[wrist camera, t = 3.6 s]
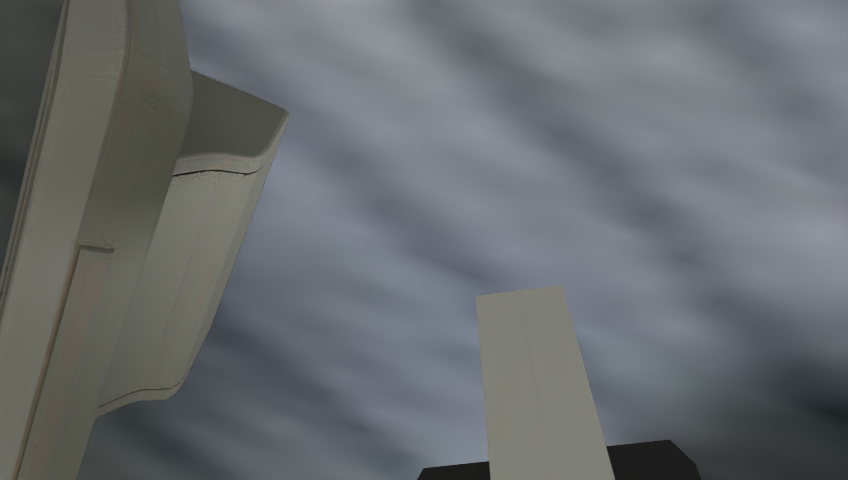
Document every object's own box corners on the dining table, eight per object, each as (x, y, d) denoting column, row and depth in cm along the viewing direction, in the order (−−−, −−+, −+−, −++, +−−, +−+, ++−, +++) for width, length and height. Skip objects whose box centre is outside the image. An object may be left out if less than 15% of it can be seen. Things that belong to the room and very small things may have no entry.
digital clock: (124, -115, 23) (-102, -87, 14) (388, 67, 25) (354, 203, 16) (-74, 290, 29) (-327, 509, 20) (153, 409, 31) (24, 659, 22)
